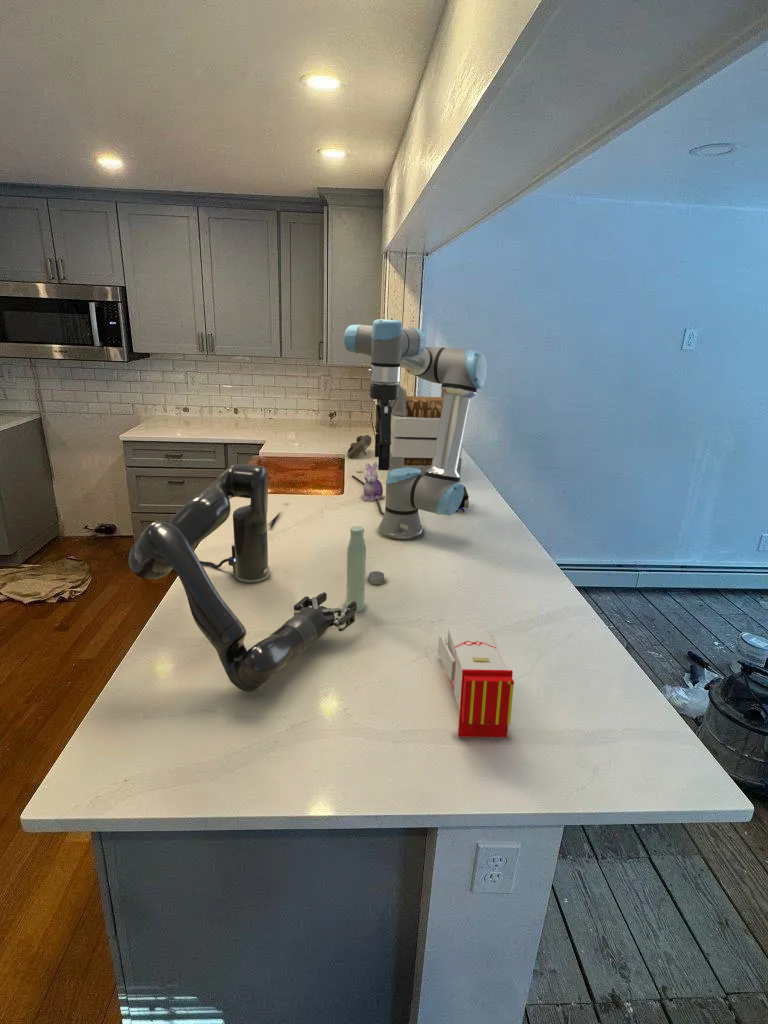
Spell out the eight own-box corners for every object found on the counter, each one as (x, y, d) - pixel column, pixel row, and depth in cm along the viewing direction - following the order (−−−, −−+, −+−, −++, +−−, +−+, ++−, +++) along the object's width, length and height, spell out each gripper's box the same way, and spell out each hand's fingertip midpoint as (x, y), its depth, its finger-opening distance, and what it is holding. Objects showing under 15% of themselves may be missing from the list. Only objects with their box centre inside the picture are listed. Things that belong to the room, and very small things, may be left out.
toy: (488, 613, 130) (523, 677, 101) (484, 667, 133) (517, 744, 104) (435, 612, 130) (455, 676, 101) (432, 666, 133) (451, 743, 103)
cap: (373, 586, 162) (374, 579, 161) (365, 579, 165) (365, 573, 164) (387, 582, 164) (387, 576, 163) (378, 576, 168) (378, 569, 167)
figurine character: (469, 517, 223) (463, 501, 236) (471, 500, 219) (465, 484, 233) (452, 516, 222) (447, 500, 236) (454, 499, 219) (449, 483, 232)
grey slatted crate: (382, 463, 289) (386, 382, 275) (445, 464, 293) (451, 384, 279) (390, 482, 257) (394, 392, 243) (460, 483, 261) (468, 394, 247)
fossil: (347, 441, 314) (368, 426, 309) (358, 454, 317) (379, 439, 312) (341, 455, 294) (363, 439, 289) (352, 469, 297) (375, 453, 292)
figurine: (367, 502, 230) (368, 467, 225) (357, 495, 238) (358, 460, 233) (388, 500, 234) (389, 465, 229) (377, 492, 242) (378, 458, 237)
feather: (287, 506, 225) (290, 502, 224) (270, 530, 198) (272, 526, 198) (283, 504, 225) (286, 500, 224) (265, 527, 198) (268, 523, 197)
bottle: (344, 603, 151) (346, 525, 144) (361, 602, 153) (364, 524, 145) (348, 612, 147) (349, 532, 139) (365, 610, 148) (368, 531, 141)
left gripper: (276, 635, 131) (316, 605, 145) (328, 654, 125) (364, 621, 139) (276, 607, 129) (316, 579, 142) (329, 624, 123) (365, 594, 137)
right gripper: (367, 376, 157) (365, 451, 164) (373, 389, 133) (370, 475, 141) (394, 377, 157) (390, 452, 165) (405, 390, 134) (400, 476, 141)
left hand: (340, 600), depth 141 cm, fingers open, 8 cm apart
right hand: (381, 463), depth 153 cm, fingers open, 13 cm apart
